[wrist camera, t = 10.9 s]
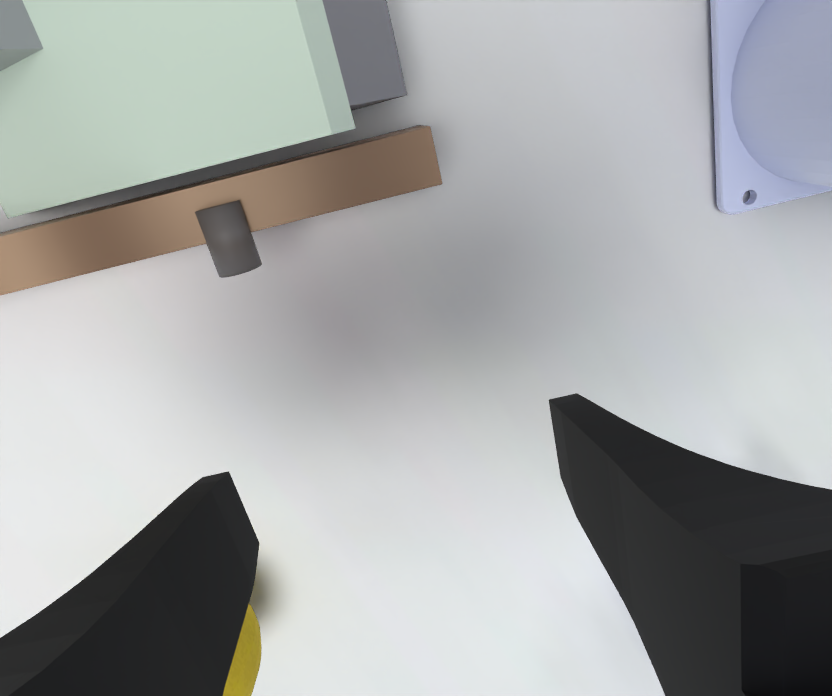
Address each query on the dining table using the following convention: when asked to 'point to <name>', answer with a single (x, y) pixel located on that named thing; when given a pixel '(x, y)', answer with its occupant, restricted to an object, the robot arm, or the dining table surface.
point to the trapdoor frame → (219, 211)
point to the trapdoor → (181, 88)
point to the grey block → (16, 33)
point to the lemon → (245, 658)
